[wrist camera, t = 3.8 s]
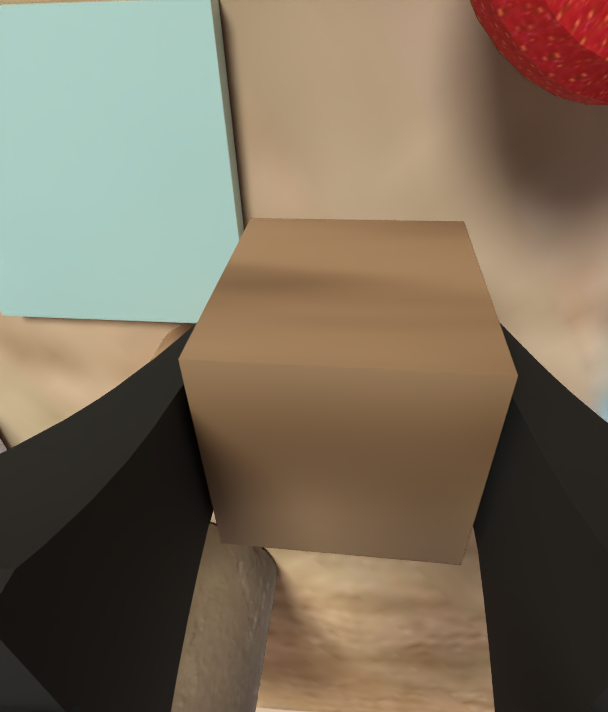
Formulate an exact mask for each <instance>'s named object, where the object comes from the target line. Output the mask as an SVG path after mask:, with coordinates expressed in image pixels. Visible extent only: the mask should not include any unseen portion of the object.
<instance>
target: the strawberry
mask: <svg viewBox="0 0 608 712" xmlns="http://www.w3.org/2000/svg"><path fill="white" fill-rule="evenodd" d="M470 2H471V4H472V7H473V9H474V12H475V14H476V16H477V19H478V20H479V22H480V23H481V25H482V26H483V28H484V29H485V31H486V32H487V34H488V35H489V37H490V39H491V40H492V42H493V43H494V45H495V46H496V48H497V49H498V51H499V52H500V53H501V54H502V55H503V56H504V57H505V58H506V59H507V60H508V61H509V62H510V63H511V64H512V65H513V66H514V67H515V68H516V69H517V70H518V71H519V72H520V73H521V74H522V75H523V76H524V77H525V78H526V79H528V80H529V81H531V82H533V83H534V84H536V85H538V86H539V87H541V88H543V89H544V90H546V91H548V92H550V93H551V94H553V95H555V96H558V97H561V98H565V99H568V100H572V101H576V102H579V103H583V104H586V105H608V0H470Z"/></svg>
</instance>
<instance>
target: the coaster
mask: <svg viewBox="0 0 608 712" xmlns="http://www.w3.org/2000/svg"><path fill="white" fill-rule="evenodd" d="M243 232H244V226H243V217H242V208H241V199H240V190H239V181H238V172H237V163H236V154H235V145H234V136H233V127H232V118H231V109H230V100H229V91H228V82H227V73H226V64H225V55H224V46H223V37H222V28H221V19H220V10H219V1H218V0H109V1H80V2H51V3H23V4H0V311H1V313H2V315H3V316H26V317H51V318H77V319H102V320H127V321H153V322H178V323H197V322H198V320H199V318H200V316H201V314H202V312H203V310H204V308H205V306H206V304H207V302H208V300H209V298H210V297H211V295H212V293H213V291H214V289H215V287H216V285H217V283H218V281H219V279H220V277H221V275H222V273H223V271H224V269H225V267H226V265H227V263H228V261H229V260H230V258H231V256H232V254H233V252H234V250H235V248H236V246H237V244H238V242H239V240H240V238H241V236H242V234H243Z"/></svg>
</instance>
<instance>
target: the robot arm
mask: <svg viewBox="0 0 608 712" xmlns="http://www.w3.org/2000/svg"><path fill="white" fill-rule="evenodd" d="M196 324H197V323H196ZM196 324H194V325H193V326H192V327H191V328H190V329H189V330H188V331H186V332H185V333H184V334H183V335H182V336H181V337H179V338H178V339H177V340H176V341H175V342H173V343H172V344H171V345H170V346H169V347H167V348H166V349H165V350H164V351H163V352H161V353H160V354H159V355H158V356H157V357H155V358H154V359H153V360H152V361H150V362H149V363H148V364H146V365H145V366H144V367H142V368H141V369H140V370H138V371H137V372H136V373H134V374H133V375H132V376H130V377H129V378H128V379H126V380H125V381H124V382H122V383H121V384H120V385H118V386H117V387H115V388H114V389H113V390H111V391H110V392H108V393H107V394H105V395H104V396H102V397H101V398H99V399H98V400H96V401H95V402H93V403H91V404H90V405H88V406H87V407H85V408H83V409H82V410H80V411H78V412H77V413H75V414H74V415H72V416H70V417H69V418H67V419H65V420H63V421H62V422H60V423H58V424H56V425H54V426H52V427H50V428H48V429H47V430H45V431H43V432H41V433H39V434H37V435H35V436H33V437H32V438H30V439H28V440H26V441H24V442H22V443H20V444H18V445H16V446H15V447H13V448H11V449H8V450H7V449H6V447H5V446H4V444H3V442H2V441H1V439H0V712H171V709H172V703H173V697H174V691H175V686H176V680H177V674H178V669H179V664H180V659H181V653H182V648H183V643H184V638H185V633H186V627H187V622H188V617H189V613H190V608H191V603H192V598H193V594H194V589H195V584H196V579H197V575H198V570H199V566H200V561H201V557H202V553H203V548H204V544H205V540H206V535H207V531H208V527H209V524H210V520H211V517H212V514H213V506H212V501H211V497H210V493H209V489H208V484H207V480H206V476H205V472H204V467H203V463H202V459H201V454H200V450H199V446H198V442H197V437H196V433H195V429H194V424H193V420H192V416H191V412H190V407H189V403H188V399H187V394H186V390H185V386H184V382H183V377H182V373H181V369H180V365H179V360H178V359H179V357H180V355H181V353H182V351H183V349H184V347H185V345H186V343H187V341H188V339H189V337H190V335H191V334H192V332H193V330H194V328H195V326H196ZM500 326H501V329H502V332H503V334H504V337H505V340H506V343H507V346H508V349H509V352H510V354H511V357H512V360H513V363H514V366H515V369H516V372H517V374H518V377H517V381H516V384H515V387H514V391H513V394H512V397H511V401H510V404H509V407H508V411H507V414H506V417H505V421H504V424H503V427H502V431H501V434H500V437H499V441H498V444H497V447H496V450H495V454H494V457H493V460H492V464H491V467H490V470H489V474H488V477H487V480H486V484H485V487H484V490H483V494H482V497H481V500H480V504H479V507H478V510H477V514H476V517H475V520H474V523H473V527H474V532H475V538H476V543H477V548H478V555H479V563H480V571H481V579H482V587H483V596H484V604H485V614H486V623H487V632H488V642H489V651H490V662H491V673H492V684H493V695H494V706H495V712H608V423H607V422H606V421H605V420H603V419H602V418H601V417H600V416H598V415H597V414H596V413H595V412H594V411H592V410H591V409H590V408H589V407H588V406H586V405H585V404H584V403H583V402H582V401H581V400H579V399H578V398H577V397H576V396H575V395H573V394H572V393H571V392H570V391H569V390H568V389H567V388H566V387H565V386H563V385H562V384H561V383H560V382H559V381H558V380H557V379H556V378H555V377H554V376H553V375H551V374H550V373H549V372H548V371H547V370H546V369H545V368H544V367H543V366H542V365H541V364H540V363H539V362H538V361H537V360H536V359H535V358H534V357H533V356H532V355H531V354H530V353H529V352H528V351H527V350H526V349H525V348H524V347H523V346H522V345H521V344H520V343H519V342H518V341H517V340H516V339H515V338H514V337H513V336H512V335H511V334H510V333H509V332H508V331H507V330H506V329H505V328H504V326H503V325H502V324H501V323H500Z"/></svg>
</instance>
